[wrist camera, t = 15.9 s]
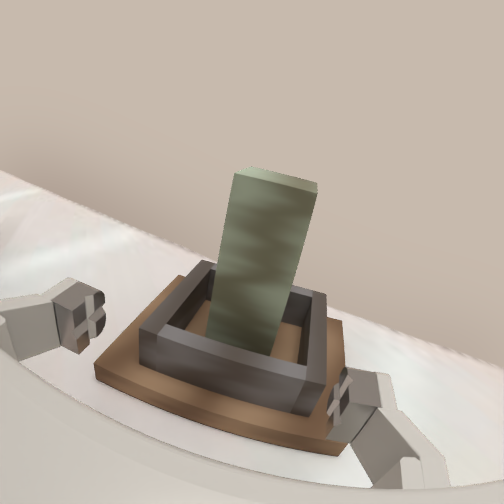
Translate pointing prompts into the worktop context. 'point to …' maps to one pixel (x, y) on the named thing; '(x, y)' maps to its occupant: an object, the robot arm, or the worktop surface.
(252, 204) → the green peg
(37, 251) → the worktop surface
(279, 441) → the display stand
